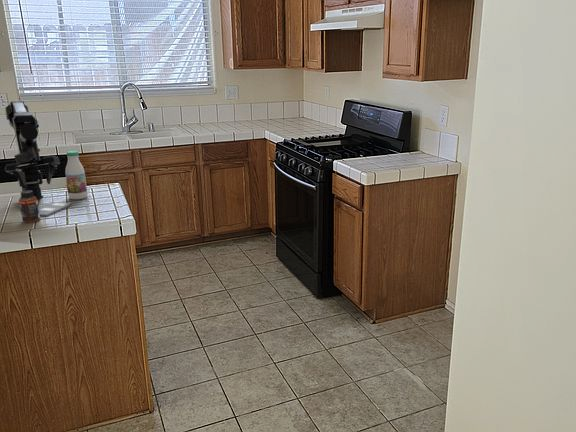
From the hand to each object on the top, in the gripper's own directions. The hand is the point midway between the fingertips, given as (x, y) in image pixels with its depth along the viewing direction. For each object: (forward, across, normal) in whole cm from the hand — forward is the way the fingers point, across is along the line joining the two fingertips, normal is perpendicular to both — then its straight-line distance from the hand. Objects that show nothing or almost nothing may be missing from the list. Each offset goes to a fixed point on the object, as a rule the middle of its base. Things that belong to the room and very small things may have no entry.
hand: (36, 186), depth 194 cm
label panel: (+9, -1, +8) cm, 12 cm away
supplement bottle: (+13, -2, -5) cm, 14 cm away
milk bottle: (+4, +4, +26) cm, 26 cm away
